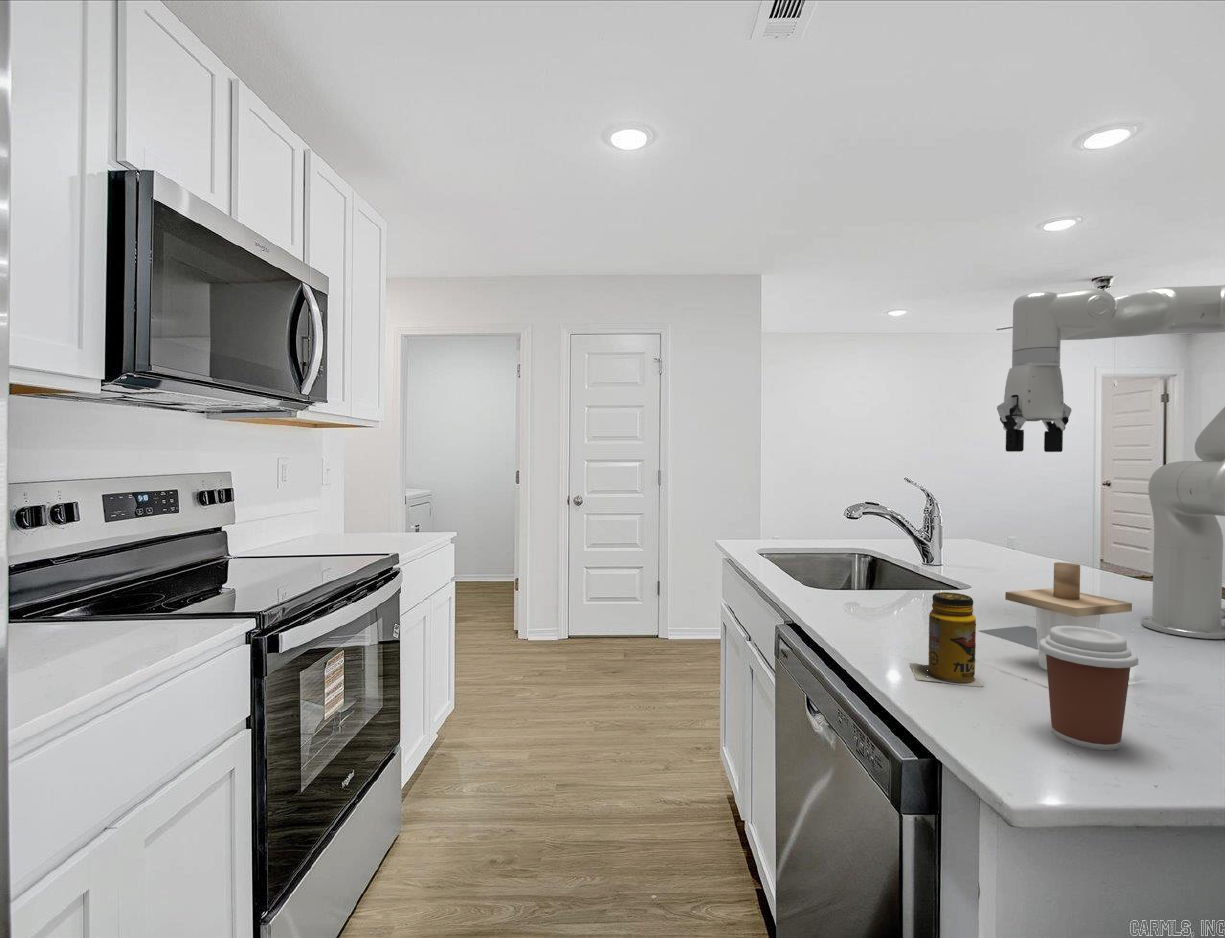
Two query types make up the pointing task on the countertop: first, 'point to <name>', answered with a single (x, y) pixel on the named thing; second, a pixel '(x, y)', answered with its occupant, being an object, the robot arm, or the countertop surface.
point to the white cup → (1053, 619)
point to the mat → (1016, 635)
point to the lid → (1068, 596)
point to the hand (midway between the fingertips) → (1034, 451)
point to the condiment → (950, 641)
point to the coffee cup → (1087, 685)
